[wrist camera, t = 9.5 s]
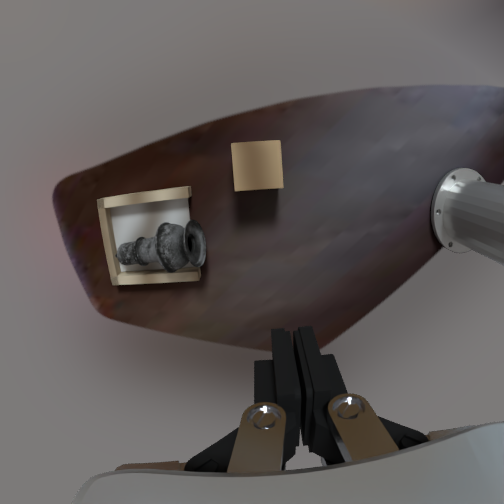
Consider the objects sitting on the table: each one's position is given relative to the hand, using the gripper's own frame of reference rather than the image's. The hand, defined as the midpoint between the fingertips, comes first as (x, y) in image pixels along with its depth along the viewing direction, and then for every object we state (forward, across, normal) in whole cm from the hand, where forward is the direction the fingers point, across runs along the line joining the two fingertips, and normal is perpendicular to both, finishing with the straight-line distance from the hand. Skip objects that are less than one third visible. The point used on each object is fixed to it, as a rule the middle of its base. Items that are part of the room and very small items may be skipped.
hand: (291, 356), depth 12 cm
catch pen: (+26, +15, 0) cm, 30 cm away
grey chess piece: (+22, +8, 0) cm, 23 cm away
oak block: (+26, +1, -8) cm, 27 cm away
